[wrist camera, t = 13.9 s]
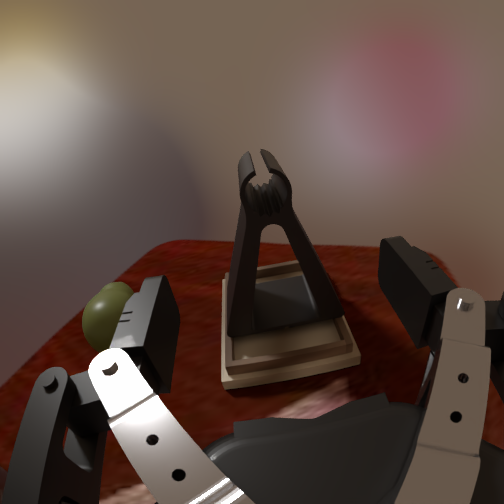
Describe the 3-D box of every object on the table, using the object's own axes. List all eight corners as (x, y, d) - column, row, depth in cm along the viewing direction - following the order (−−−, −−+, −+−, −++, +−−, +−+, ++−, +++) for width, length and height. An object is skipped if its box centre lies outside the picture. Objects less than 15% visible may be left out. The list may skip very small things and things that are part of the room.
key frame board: (224, 389, 21) (217, 373, 20) (224, 287, 32) (220, 271, 32) (360, 364, 21) (361, 346, 20) (319, 269, 32) (318, 253, 31)
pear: (65, 322, 22) (89, 279, 31) (93, 372, 24) (107, 319, 33) (123, 304, 23) (134, 264, 32) (148, 357, 25) (151, 306, 34)
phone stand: (325, 273, 28) (314, 140, 22) (344, 316, 23) (339, 157, 17) (227, 291, 28) (195, 161, 22) (227, 338, 23) (183, 185, 17)
